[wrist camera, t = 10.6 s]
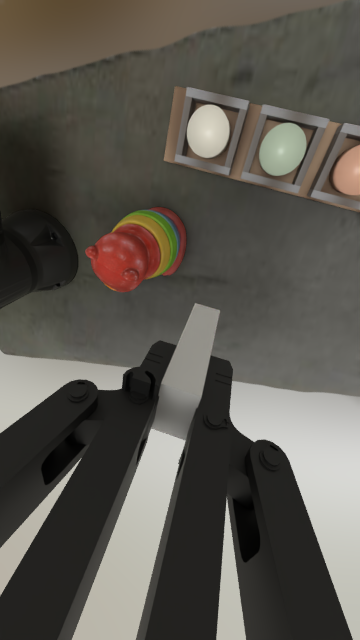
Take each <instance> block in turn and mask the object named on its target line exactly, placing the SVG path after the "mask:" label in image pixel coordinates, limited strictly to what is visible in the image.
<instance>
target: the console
mask: <svg viewBox="0 0 360 640" xmlns="http://www.w3.org/2000/svg"><path fill="white" fill-rule="evenodd" d="M204 105H215V106H217V107H219V108H220V109H222V111H223V112H224V113H225V115H226V117H227V119H228V121H229V124H230V128H231V137H230V141H229V144H228V146H227V148H226V150H225V151H224V152H223V153H222V154H221V155H220V156H218V157H216V158H213V159H207V158H204V157H201V156H199V155H197V154H196V153H194V152H193V150H192V149H191V147H190V146H189V143H188V139H187V127H188V123H189V120H190V118H191V116H192V115H193V113H194V112H195V111H196V110H197V109H198V108H200V107H202V106H204ZM329 120H330V119H326V118H322V117H318V116H313V115H309V114H304V113H300V112H296V111H291V110H287V109H282V108H278V107H274V106H269V105H265V104H263V106H260V105H256V104H251V103H249V101H247V100H243V99H239V98H234V97H230V96H225V95H221V94H217V93H212V92H208V91H203V90H199V89H195V88H190V87H187V89H186V88H181V87H177V86H175V90H174V96H173V103H172V110H171V116H170V123H169V129H168V136H167V143H166V149H165V156H164V161H167V162H171V163H175V164H178V165H182V166H186V167H190V168H194V169H197V170H201V171H205V172H209V173H213V174H216V175H220V176H224V177H228V178H232V179H235V180H239V181H243V182H247V183H251V184H254V185H258V186H262V187H266V188H270V189H273V190H277V191H281V192H285V193H289V194H292V195H296V196H300V197H304V198H307V199H311V200H315V201H319V202H323V203H326V204H330V205H334V206H338V207H342V208H345V209H349V210H353V211H357V212H360V195H348V194H343V193H339V192H337V191H336V190H335V189H334V188H333V187H332V185H331V183H330V171H331V168H332V166H333V163H334V162H335V160H336V159H337V158H338V157H339V156H340V155H341V154H342V153H343V152H344V151H346V150H347V149H349V148H352V147H354V146H358V145H360V126H357V125H353V124H348V123H343V124H339V123H334V122H330V121H329ZM283 123H293V124H296V125H297V126H299V127H300V128H301V129H302V130H303V132H304V134H305V137H306V151H305V154H304V157H303V159H302V160H301V162H300V163H299V165H298V166H297V167H296V168H295V169H294V170H292V171H291V172H289V173H287V174H285V175H280V176H273V175H269V174H268V173H266V172H265V171H264V170H263V169H262V167H261V165H260V162H259V152H260V147H261V144H262V141H263V139H264V138H265V136H266V135H267V133H268V132H269V131H270V130H271V129H273V128H274V127H276V126H277V125H280V124H283Z"/></svg>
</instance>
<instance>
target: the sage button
mask: <svg viewBox="0 0 360 640" xmlns="http://www.w3.org/2000/svg"><path fill="white" fill-rule="evenodd" d="M305 151H306V137H305V134H304V132H303V130H302V129H301V128H300V127H299V126H297V125H296V124H293V123H283V124H280V125H277V126H276V127H274V128H273V129H271V130H270V131H269V132H268V133H267V135H266V136H265V138H264V139H263V141H262V144H261V147H260V152H259V162H260V165H261V167H262V169H263V170H264V171H265V172H266V173H268V174H269V175H273V176H280V175H285V174H287V173H289V172H291V171H292V170H294V169H295V168H296V167H297V166H298V165H299V163H300V162H301V160H302V159H303V157H304V154H305Z"/></svg>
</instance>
